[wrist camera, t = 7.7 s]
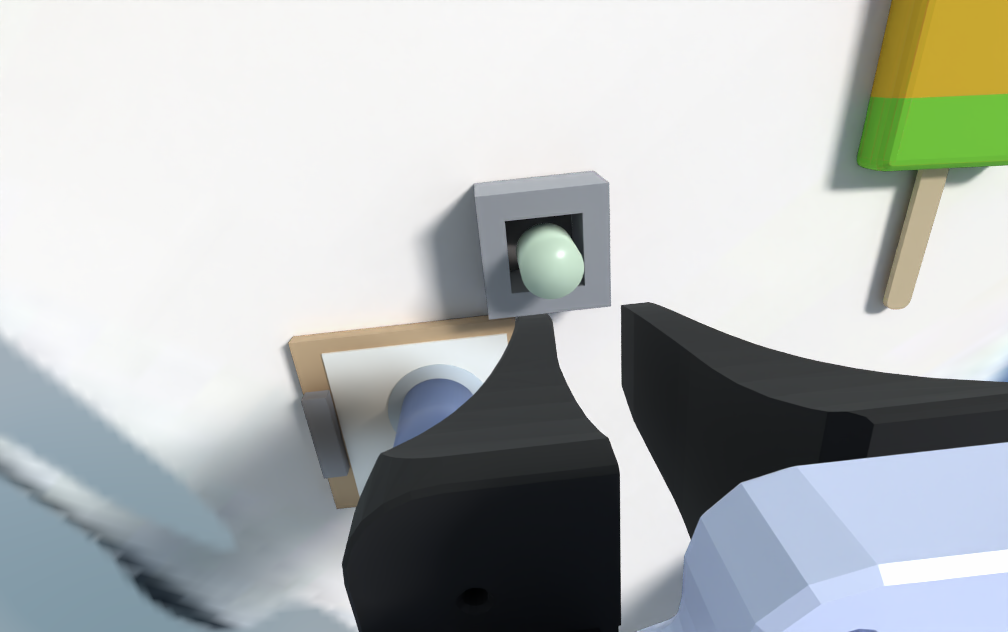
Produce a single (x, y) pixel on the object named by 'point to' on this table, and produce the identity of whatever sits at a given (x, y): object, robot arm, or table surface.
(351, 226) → the table surface
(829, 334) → the table surface
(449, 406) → the blue small bottle
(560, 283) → the button
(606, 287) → the button housing
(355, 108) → the table surface
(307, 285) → the table surface
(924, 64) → the popsicle
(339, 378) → the clipboard
